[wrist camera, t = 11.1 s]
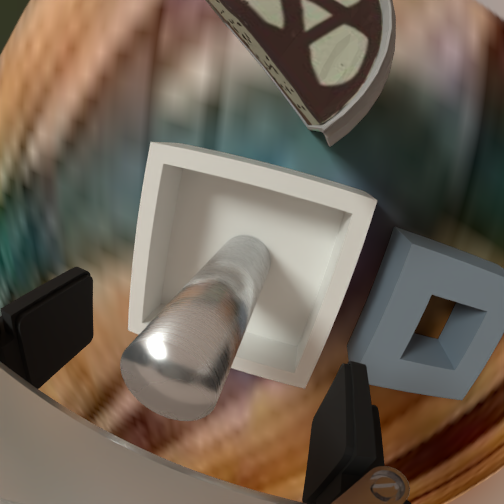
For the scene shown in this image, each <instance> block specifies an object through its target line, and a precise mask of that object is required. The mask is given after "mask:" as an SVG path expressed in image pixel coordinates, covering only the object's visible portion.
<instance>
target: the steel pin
mask: <svg viewBox="0 0 504 504" xmlns="http://www.w3.org/2000/svg"><path fill="white" fill-rule="evenodd" d="M270 266H271V256H270V252H269V250H268V248H267V247H266V245H265V244H264V243H263V242H262V241H261V240H259V239H258V238H256V237H254V236H250V235H238V236H235V237H233V238H231V239H229V240H228V241H227V242H226V243H225V244H224V245H223V246H222V247H221V248H220V249H219V250H218V251H217V252H216V254H215V255H214V256H213V257H212V258H211V259H210V260H209V261H208V262H207V263H206V264H205V265H204V266H203V267H202V268H201V269H200V270H199V271H198V272H197V273H196V274H195V275H194V277H193V278H192V279H191V280H190V281H189V282H188V283H187V284H186V285H185V286H184V287H183V288H182V289H181V290H180V291H179V292H178V293H177V294H176V296H175V297H174V298H173V299H172V300H171V301H170V302H169V303H168V304H167V305H166V306H165V307H164V308H163V309H162V310H161V311H160V313H159V314H158V315H157V316H156V317H155V318H154V319H153V320H152V321H151V322H150V323H149V324H148V325H147V327H146V328H145V329H144V330H143V331H142V332H141V333H140V334H139V335H138V336H137V337H136V338H135V340H134V341H133V342H132V343H131V344H130V345H129V346H128V347H127V348H126V350H125V351H124V352H123V355H122V357H121V364H120V366H121V373H122V376H123V379H124V381H125V383H126V385H127V387H128V389H129V390H130V391H131V393H132V394H133V395H134V396H135V397H136V398H137V399H138V400H139V401H140V402H141V403H142V404H143V405H145V406H146V407H147V408H149V409H150V410H152V411H154V412H155V413H157V414H159V415H162V416H164V417H167V418H170V419H174V420H180V421H193V420H198V419H201V418H203V417H205V416H207V415H208V414H210V412H211V411H212V410H213V409H214V407H215V405H216V403H217V400H218V398H219V396H220V393H221V391H222V388H223V386H224V383H225V381H226V378H227V376H228V373H229V371H230V368H231V366H232V364H233V361H234V359H235V356H236V354H237V351H238V349H239V346H240V344H241V341H242V339H243V336H244V334H245V331H246V328H247V326H248V323H249V321H250V318H251V316H252V313H253V311H254V308H255V306H256V303H257V300H258V298H259V295H260V293H261V290H262V288H263V285H264V282H265V280H266V277H267V275H268V272H269V269H270Z"/></svg>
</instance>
